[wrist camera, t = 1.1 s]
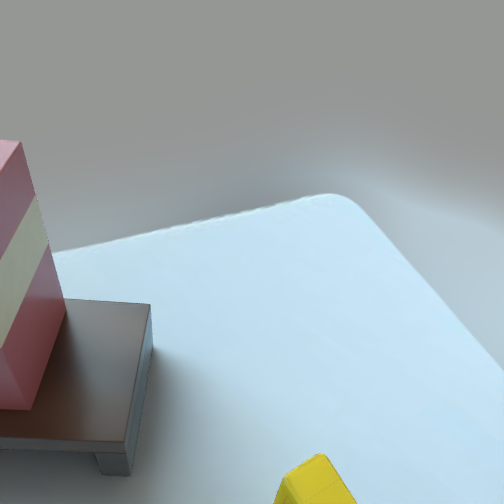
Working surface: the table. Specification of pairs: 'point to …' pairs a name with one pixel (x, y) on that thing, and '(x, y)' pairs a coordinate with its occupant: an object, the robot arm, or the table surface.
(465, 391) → the table surface
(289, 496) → the candy box
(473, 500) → the table surface
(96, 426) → the shelf
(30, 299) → the packet
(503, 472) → the table surface
